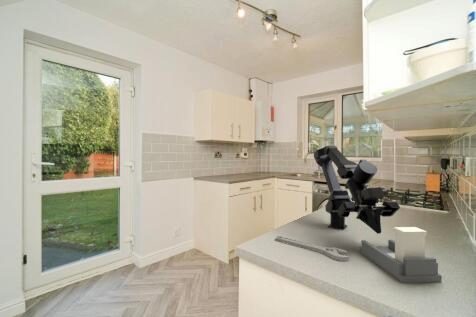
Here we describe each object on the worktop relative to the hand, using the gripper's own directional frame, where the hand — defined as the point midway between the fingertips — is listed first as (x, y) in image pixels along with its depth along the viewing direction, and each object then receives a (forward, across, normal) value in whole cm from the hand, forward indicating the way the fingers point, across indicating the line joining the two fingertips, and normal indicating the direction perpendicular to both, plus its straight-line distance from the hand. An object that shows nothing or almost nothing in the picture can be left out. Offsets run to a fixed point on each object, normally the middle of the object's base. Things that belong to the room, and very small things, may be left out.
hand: (379, 233), depth 71 cm
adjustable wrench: (+1, -20, +10) cm, 22 cm away
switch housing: (+10, 0, 0) cm, 10 cm away
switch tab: (+12, 0, -5) cm, 13 cm away
